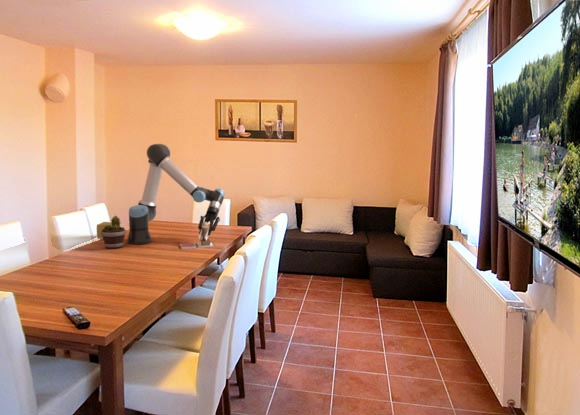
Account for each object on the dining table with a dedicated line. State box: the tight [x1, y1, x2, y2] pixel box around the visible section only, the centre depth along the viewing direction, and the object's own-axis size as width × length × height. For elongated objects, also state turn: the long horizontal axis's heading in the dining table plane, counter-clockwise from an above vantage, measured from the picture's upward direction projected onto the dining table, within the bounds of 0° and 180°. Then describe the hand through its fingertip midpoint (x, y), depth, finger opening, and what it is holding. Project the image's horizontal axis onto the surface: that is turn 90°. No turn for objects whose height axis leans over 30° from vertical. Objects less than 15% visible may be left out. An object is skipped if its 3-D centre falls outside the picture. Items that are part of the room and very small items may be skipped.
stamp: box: [200, 221, 211, 246], centre depth 282 cm, size 7×5×15 cm
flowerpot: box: [100, 215, 127, 250], centre depth 272 cm, size 14×15×20 cm
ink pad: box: [179, 242, 197, 250], centre depth 278 cm, size 9×9×2 cm
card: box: [194, 241, 216, 248], centre depth 283 cm, size 11×11×1 cm
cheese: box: [96, 221, 113, 240], centre depth 299 cm, size 10×11×10 cm
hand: (202, 239), depth 279 cm, fingers closed on stamp, 3 cm apart
